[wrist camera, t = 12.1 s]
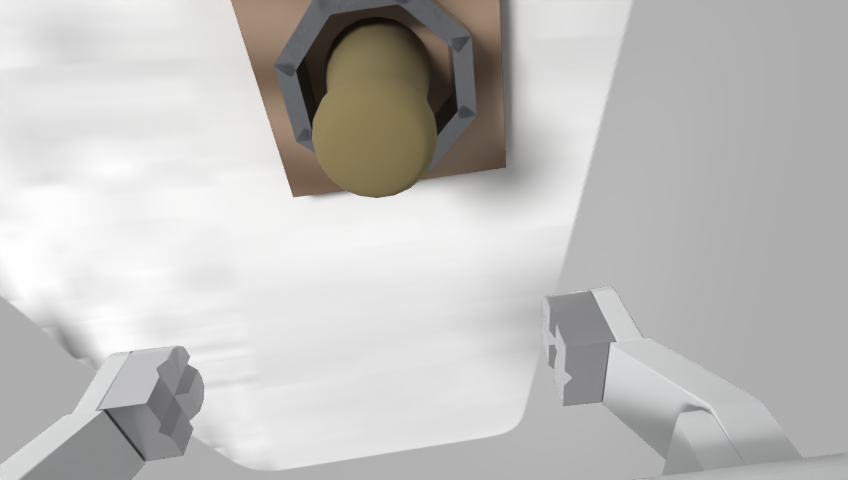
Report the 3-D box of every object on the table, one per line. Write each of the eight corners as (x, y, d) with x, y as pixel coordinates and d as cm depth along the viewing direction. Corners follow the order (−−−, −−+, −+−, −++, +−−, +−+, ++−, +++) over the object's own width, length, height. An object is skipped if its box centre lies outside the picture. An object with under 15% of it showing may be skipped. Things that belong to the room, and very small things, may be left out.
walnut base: (224, -49, 26) (216, -47, 25) (490, -90, 26) (496, -89, 25) (296, 186, 34) (293, 197, 33) (501, 157, 34) (505, 167, 32)
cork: (446, 38, 28) (475, 106, 19) (412, 136, 31) (421, 234, 22) (340, -1, 26) (314, 52, 17) (314, 106, 29) (282, 198, 20)
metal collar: (267, -9, 26) (254, 1, 23) (459, -38, 26) (467, -31, 23) (315, 166, 32) (309, 188, 29) (473, 143, 31) (480, 164, 29)
